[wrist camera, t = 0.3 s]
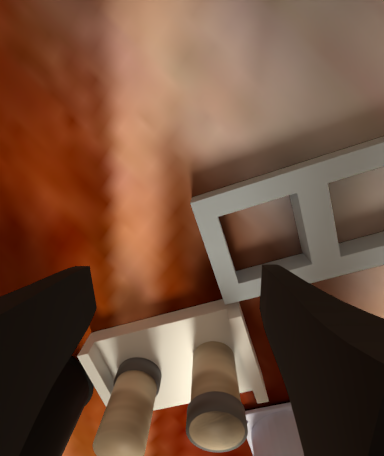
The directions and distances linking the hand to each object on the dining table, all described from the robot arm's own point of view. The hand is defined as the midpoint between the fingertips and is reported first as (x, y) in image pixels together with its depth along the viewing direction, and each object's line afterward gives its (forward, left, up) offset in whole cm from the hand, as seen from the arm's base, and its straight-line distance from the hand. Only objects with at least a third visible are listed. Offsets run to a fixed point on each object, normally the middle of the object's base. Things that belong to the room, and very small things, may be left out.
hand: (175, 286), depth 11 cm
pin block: (-3, -9, -10) cm, 13 cm away
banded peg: (-12, +9, -8) cm, 17 cm away
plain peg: (-12, +2, -8) cm, 15 cm away
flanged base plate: (-12, +5, -10) cm, 17 cm away
